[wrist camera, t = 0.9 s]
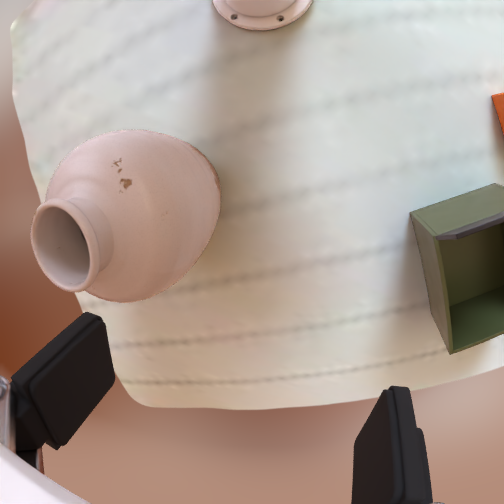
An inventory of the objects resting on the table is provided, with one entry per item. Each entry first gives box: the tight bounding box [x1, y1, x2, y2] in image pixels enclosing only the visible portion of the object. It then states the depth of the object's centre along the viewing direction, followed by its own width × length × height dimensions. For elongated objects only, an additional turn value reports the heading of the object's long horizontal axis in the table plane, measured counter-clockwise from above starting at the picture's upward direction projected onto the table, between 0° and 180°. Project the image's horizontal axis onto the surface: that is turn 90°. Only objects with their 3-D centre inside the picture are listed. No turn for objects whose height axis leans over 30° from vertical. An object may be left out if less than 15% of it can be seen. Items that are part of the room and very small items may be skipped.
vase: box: [31, 130, 221, 303], centre depth 30 cm, size 16×16×23 cm
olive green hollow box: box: [410, 183, 504, 355], centre depth 31 cm, size 15×13×10 cm
